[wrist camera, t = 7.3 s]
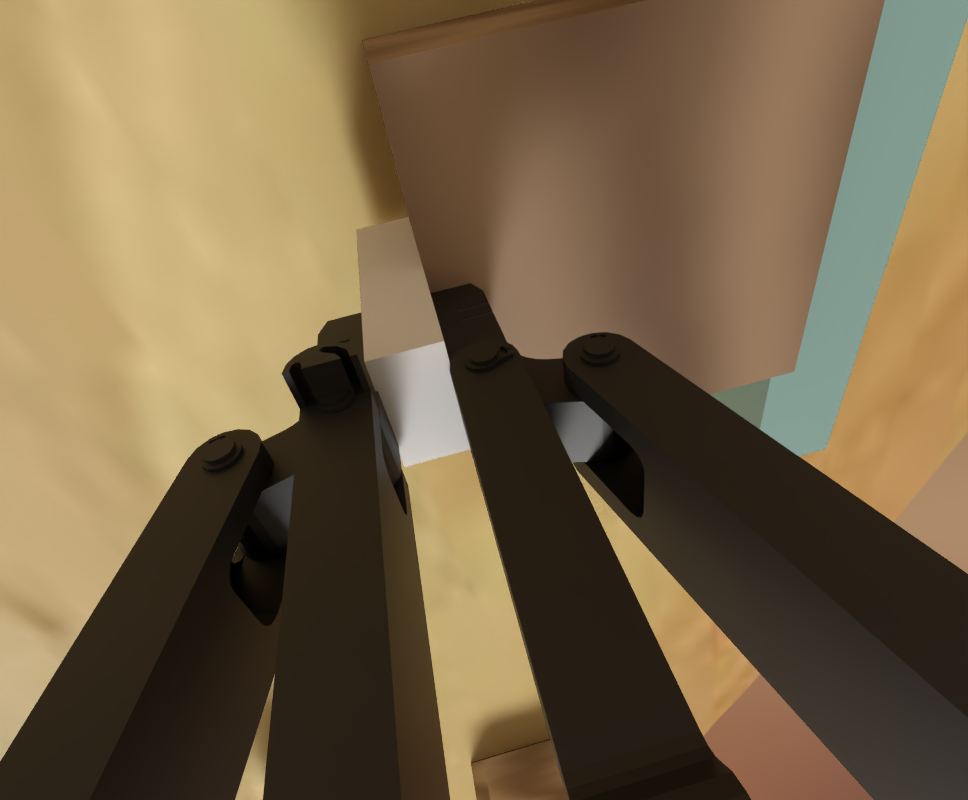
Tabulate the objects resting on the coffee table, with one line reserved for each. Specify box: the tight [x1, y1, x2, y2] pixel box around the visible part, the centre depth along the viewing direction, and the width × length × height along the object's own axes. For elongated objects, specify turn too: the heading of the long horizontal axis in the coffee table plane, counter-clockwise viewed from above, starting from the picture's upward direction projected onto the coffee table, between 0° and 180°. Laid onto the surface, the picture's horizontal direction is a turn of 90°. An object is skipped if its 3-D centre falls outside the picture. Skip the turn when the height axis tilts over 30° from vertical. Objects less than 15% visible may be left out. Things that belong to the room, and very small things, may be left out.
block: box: [362, 0, 885, 457], centre depth 15 cm, size 10×10×5 cm
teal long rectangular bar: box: [710, 0, 968, 456], centre depth 16 cm, size 3×20×4 cm, turn 10°
